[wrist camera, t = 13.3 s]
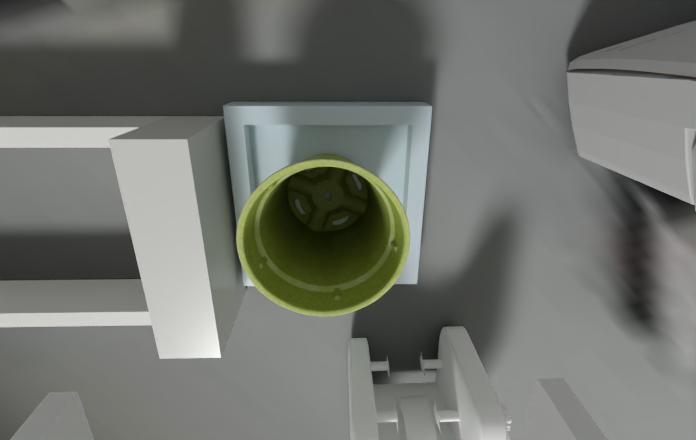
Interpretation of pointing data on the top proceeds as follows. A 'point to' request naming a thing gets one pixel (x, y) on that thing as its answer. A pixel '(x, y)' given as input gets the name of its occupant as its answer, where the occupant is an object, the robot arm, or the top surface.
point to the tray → (334, 150)
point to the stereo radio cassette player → (640, 109)
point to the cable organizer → (426, 397)
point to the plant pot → (323, 237)
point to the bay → (147, 232)
